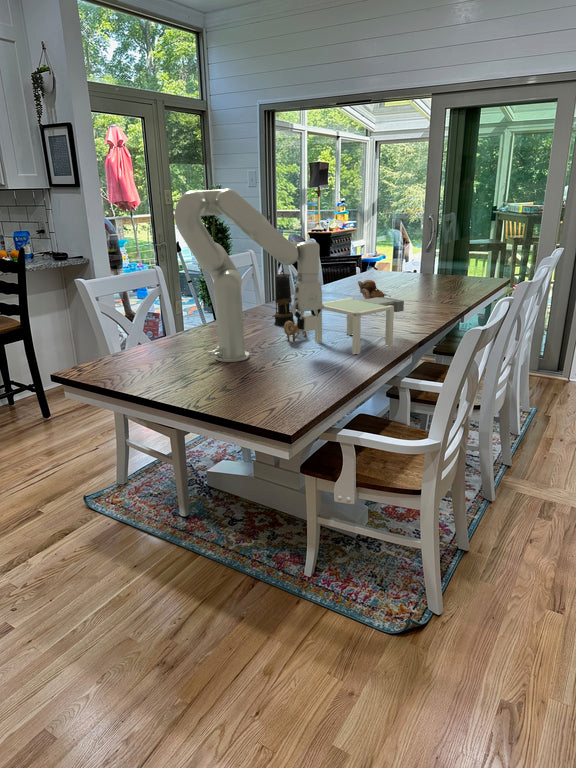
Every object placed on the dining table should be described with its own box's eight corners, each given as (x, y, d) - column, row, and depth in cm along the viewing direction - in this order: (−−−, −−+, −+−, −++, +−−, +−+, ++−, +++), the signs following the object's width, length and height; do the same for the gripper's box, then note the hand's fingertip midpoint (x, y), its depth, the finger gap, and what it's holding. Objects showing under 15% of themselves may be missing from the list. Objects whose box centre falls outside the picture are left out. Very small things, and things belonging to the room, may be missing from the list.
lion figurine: (293, 344, 214) (292, 322, 211) (281, 343, 216) (280, 321, 213) (309, 335, 226) (308, 314, 223) (297, 334, 228) (297, 313, 225)
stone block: (305, 331, 194) (305, 317, 192) (297, 328, 197) (297, 315, 196) (316, 329, 196) (316, 316, 195) (307, 326, 200) (308, 313, 198)
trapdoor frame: (356, 355, 197) (356, 313, 192) (315, 342, 216) (314, 304, 211) (392, 345, 208) (393, 306, 203) (350, 334, 226) (350, 297, 221)
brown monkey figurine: (363, 284, 304) (351, 280, 292) (390, 279, 295) (378, 274, 283) (364, 307, 303) (352, 304, 291) (391, 303, 295) (380, 299, 282)
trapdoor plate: (356, 323, 197) (357, 311, 195) (323, 315, 212) (322, 304, 210) (410, 312, 212) (411, 300, 211) (375, 305, 227) (375, 294, 226)
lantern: (271, 325, 246) (268, 258, 236) (280, 320, 254) (278, 255, 244) (288, 326, 242) (286, 258, 232) (297, 322, 250) (296, 256, 240)
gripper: (295, 281, 183) (294, 333, 189) (333, 277, 193) (331, 327, 199) (282, 278, 189) (281, 329, 195) (320, 274, 198) (318, 323, 204)
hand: (306, 327), depth 197 cm, fingers closed on stone block, 5 cm apart
